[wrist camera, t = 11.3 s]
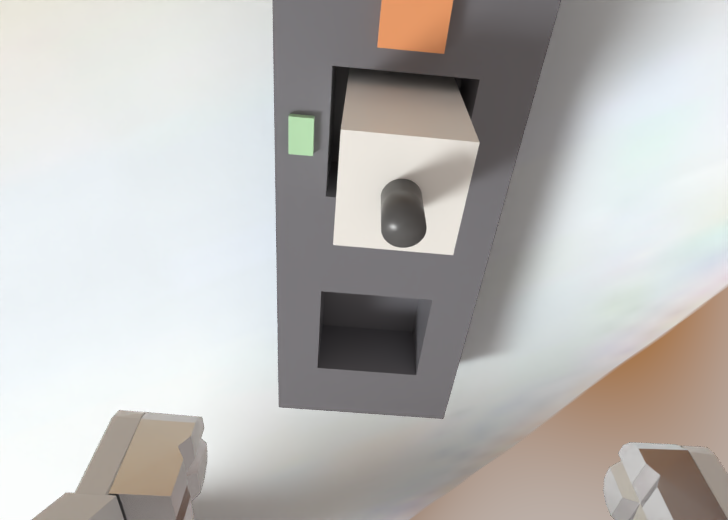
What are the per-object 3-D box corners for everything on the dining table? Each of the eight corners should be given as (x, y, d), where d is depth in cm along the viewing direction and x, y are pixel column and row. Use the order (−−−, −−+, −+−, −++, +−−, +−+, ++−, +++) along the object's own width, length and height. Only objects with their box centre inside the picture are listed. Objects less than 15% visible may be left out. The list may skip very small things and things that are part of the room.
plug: (433, 160, 26) (460, 290, 17) (343, 151, 25) (328, 279, 17) (450, 68, 23) (490, 171, 15) (350, 58, 23) (337, 157, 15)
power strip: (437, 369, 35) (444, 427, 31) (287, 358, 35) (277, 415, 31) (537, -40, 21) (573, -22, 17) (288, -66, 21) (268, -53, 17)
